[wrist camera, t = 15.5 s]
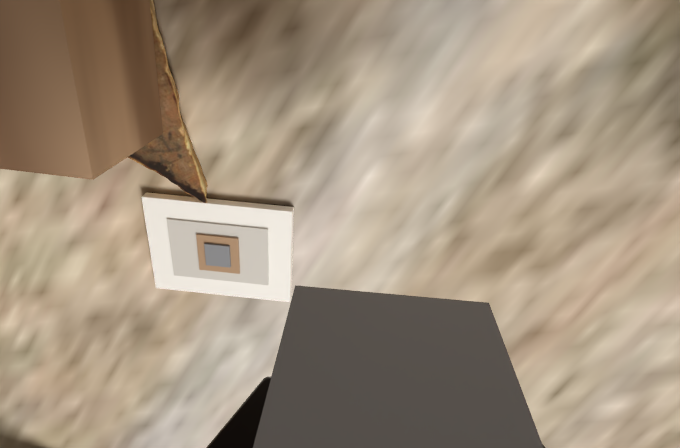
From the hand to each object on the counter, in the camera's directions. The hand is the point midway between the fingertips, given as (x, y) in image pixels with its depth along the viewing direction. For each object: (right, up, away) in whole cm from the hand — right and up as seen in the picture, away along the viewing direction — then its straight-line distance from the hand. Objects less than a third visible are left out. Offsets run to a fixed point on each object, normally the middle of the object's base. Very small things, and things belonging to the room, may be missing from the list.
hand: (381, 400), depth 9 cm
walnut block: (-10, +10, +8) cm, 16 cm away
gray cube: (0, 0, +1) cm, 1 cm away
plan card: (-7, +3, +13) cm, 14 cm away
